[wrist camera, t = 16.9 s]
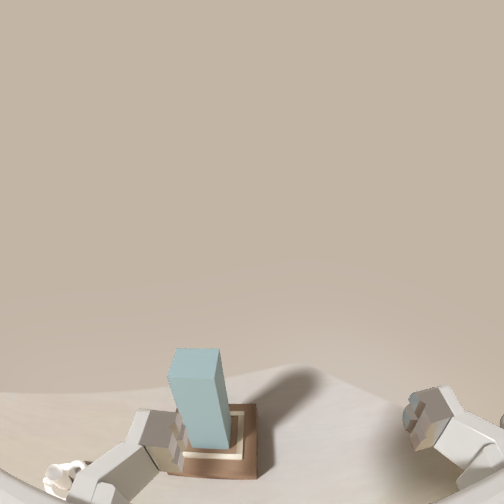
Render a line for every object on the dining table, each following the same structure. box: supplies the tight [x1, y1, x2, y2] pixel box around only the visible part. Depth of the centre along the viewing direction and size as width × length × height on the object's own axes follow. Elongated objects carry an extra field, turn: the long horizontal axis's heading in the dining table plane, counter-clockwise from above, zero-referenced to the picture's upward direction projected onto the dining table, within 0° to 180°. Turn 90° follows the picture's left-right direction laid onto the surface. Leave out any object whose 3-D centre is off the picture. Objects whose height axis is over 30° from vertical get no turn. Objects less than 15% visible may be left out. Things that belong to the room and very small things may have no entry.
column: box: [167, 348, 232, 449], centre depth 33 cm, size 5×5×14 cm
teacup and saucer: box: [43, 460, 87, 501], centre depth 26 cm, size 9×8×4 cm
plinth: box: [167, 404, 257, 479], centre depth 36 cm, size 12×12×3 cm
